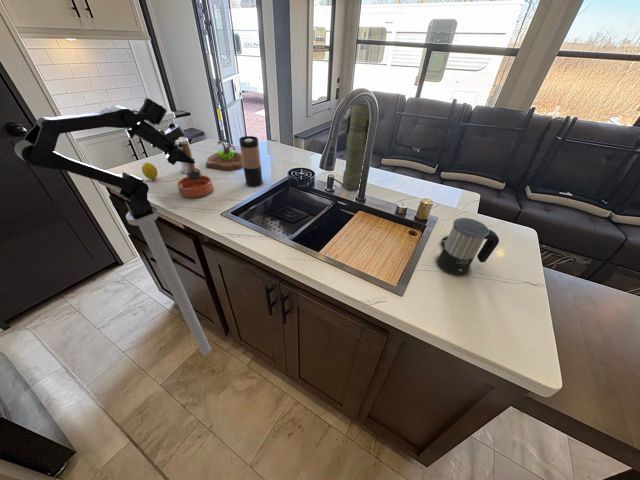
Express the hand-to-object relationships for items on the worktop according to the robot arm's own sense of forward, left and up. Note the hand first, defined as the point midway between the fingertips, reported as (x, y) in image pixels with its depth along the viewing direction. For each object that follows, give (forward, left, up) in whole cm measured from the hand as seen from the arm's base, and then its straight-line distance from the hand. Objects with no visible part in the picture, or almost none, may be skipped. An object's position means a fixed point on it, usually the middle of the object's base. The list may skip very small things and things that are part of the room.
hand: (194, 161), depth 101 cm
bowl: (-2, +1, -13) cm, 13 cm away
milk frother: (+32, -96, -13) cm, 102 cm away
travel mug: (+20, -10, -13) cm, 26 cm away
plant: (+25, +19, -13) cm, 35 cm away
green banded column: (+50, -44, -13) cm, 68 cm away
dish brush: (-1, 0, -7) cm, 7 cm away
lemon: (-10, +25, -13) cm, 30 cm away
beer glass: (+6, +23, -13) cm, 28 cm away
